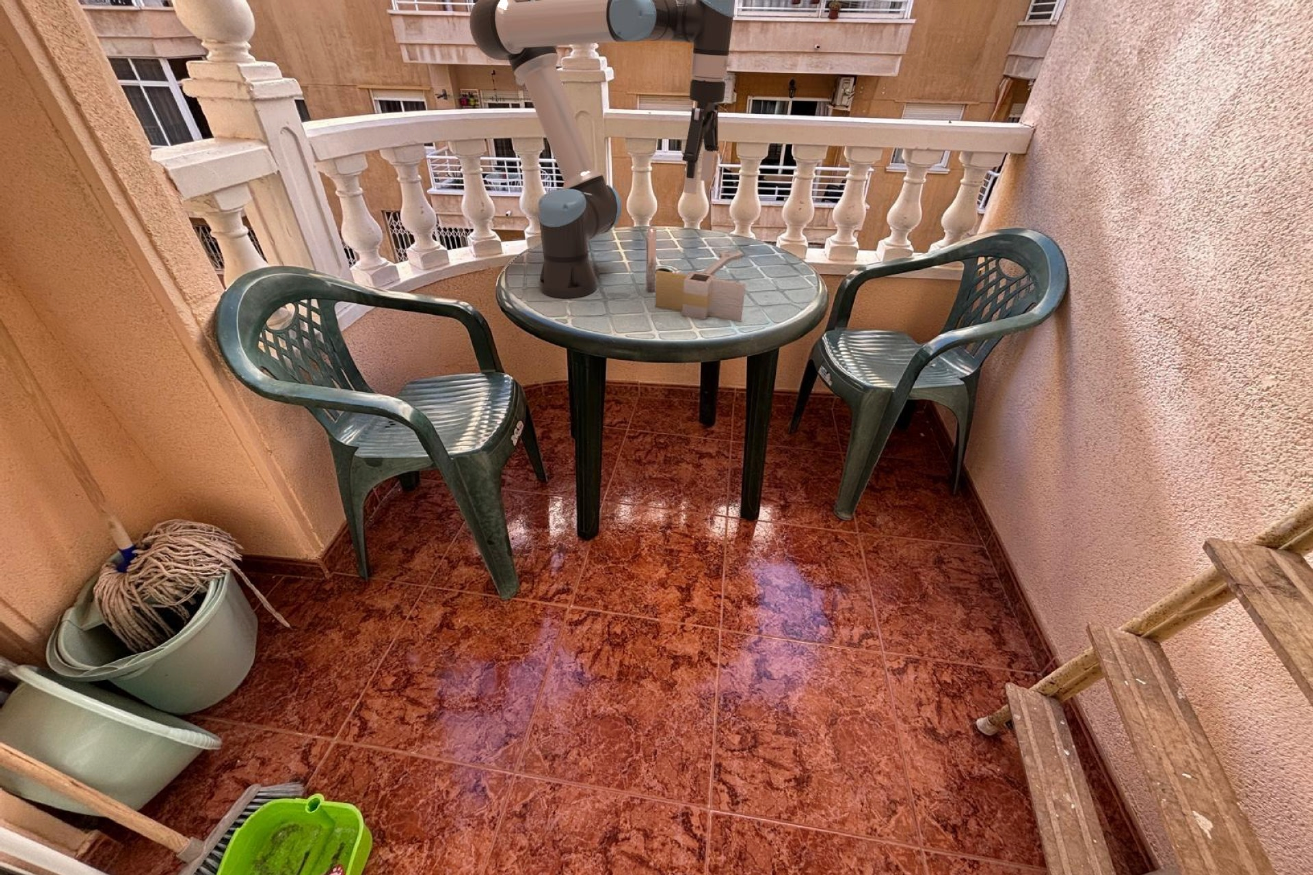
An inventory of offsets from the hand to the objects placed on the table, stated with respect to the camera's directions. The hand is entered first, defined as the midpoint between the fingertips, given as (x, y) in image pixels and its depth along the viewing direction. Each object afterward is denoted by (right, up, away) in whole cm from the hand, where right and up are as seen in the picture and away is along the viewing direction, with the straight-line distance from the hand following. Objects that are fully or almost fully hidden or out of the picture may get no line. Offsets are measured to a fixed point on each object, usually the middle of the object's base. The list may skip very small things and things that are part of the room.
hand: (698, 186), depth 126 cm
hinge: (0, -29, +6) cm, 29 cm away
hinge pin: (-12, -20, +17) cm, 28 cm away
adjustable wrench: (+8, -8, +34) cm, 36 cm away
